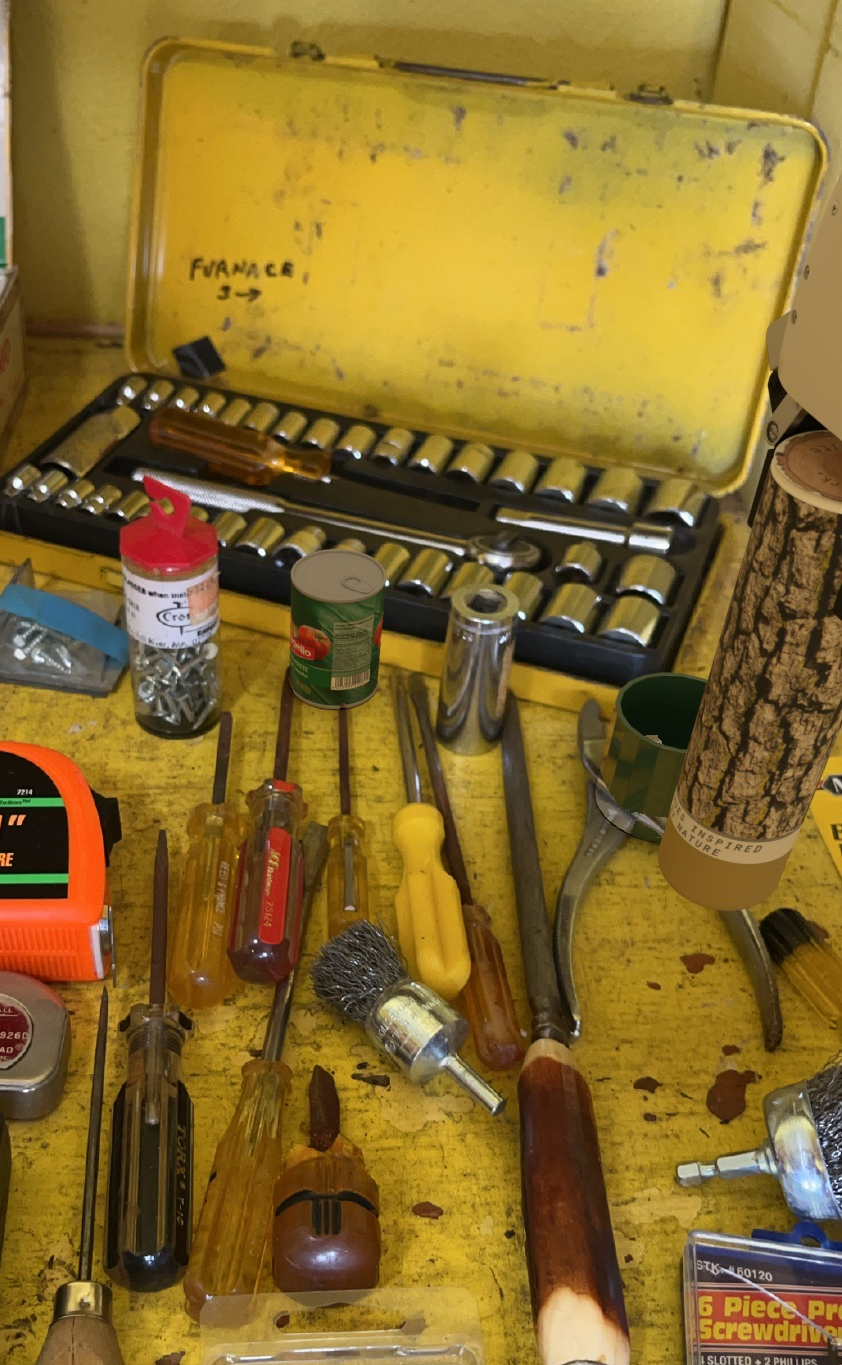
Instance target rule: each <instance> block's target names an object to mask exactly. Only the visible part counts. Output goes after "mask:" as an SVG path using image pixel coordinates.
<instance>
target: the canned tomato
mask: <svg viewBox="0 0 842 1365" xmlns="http://www.w3.org/2000/svg"><path fill="white" fill-rule="evenodd" d="M387 579H388V578H387V571H386V569H385V567H384V566H383V564H382V563H380V561H378V560H377V559H376V558H374V557H372V556H370V555H368V554H366V553H363V552H361V551H355V550H352V549H343V548H331V549H323V550H316V551H313V552H310V553H308V554H305V555H303V556H302V557H300V558H299V559H298V560H296V562H295V563H294V564H293V565H292V567H291V570H290V582H291V584H290V616H289V618H290V619H289V620H290V623H289V629H290V630H289V675H290V678H291V681H292V685H293V692H294V693H293V692H292V693H293V695H294V696H295V697H296V698H298V699H299V700H301V701H302V702H303V703H305V704H307V705H309V706H313V707H316V708H320V709H327V710H341V709H340V705H341V703H345V704H346V706H347V708H346V709H350V708H354V707H357V706H360V705H363V704H364V703H366V702H367V701H369V700H370V699H372V697H373V696H374V695H375V694H376V692H377V690H378V688H379V670H380V661H381V659H380V656H381V647H382V638H383V636H382V633H383V622H384V619H383V618H384V609H385V597H386V582H387Z"/></svg>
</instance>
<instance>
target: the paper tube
mask: <svg viewBox="0 0 842 1365" xmlns="http://www.w3.org/2000/svg"><path fill="white" fill-rule="evenodd" d="M750 529H751V528H750ZM841 583H842V441H841V440H840V439H839V438H838V437H837V436H835V435H834V434H833V433H832V432H831V431H829V430H819V431H810V432H805V433H801V434H797V435H794V436H792V437H790V438H787V439H786V440H784V441H783V442H782V443H780V444H779V445H778V447H777V448H776V450H775V453H774V457H773V459H772V461H771V464H770V467H769V471H768V474H767V478H766V481H765V485H764V488H763V491H762V495H761V498H760V502H759V505H758V509H757V512H756V515H755V519H754V522H753V526H752V529H751V530H750V532H749V536H748V540H747V543H746V546H745V550H744V553H743V557H742V560H741V564H740V566H739V571H738V574H737V577H736V580H735V585H734V587H733V592H732V595H731V598H730V602H729V605H728V608H727V611H726V616H725V619H724V622H723V627H722V629H721V633H720V637H719V640H718V643H717V646H716V649H715V653H714V657H713V660H712V663H711V666H710V670H709V674H708V678H707V679H706V680H707V684H706V687H705V691H704V694H703V698H702V701H701V704H700V708H699V711H698V715H697V718H696V722H695V725H694V728H693V732H692V735H691V739H690V742H689V746H688V749H687V753H686V756H685V759H684V763H683V766H682V770H681V773H680V777H679V780H678V783H677V787H676V790H675V794H674V797H673V801H672V804H671V809H670V813H669V816H668V819H667V823H666V826H665V830H664V833H663V837H662V840H661V843H659V847H658V852H657V863H658V867H659V870H660V872H661V874H662V876H663V878H664V879H665V881H666V883H667V884H668V885H669V886H670V887H671V888H672V890H673V891H675V893H677V894H678V895H679V896H681V897H682V898H684V899H685V900H687V901H689V902H691V903H693V904H695V905H697V906H700V907H704V908H707V909H711V910H714V911H715V910H716V911H723V912H724V911H726V912H734V911H735V912H736V911H743V910H747V909H750V908H753V907H755V906H758V905H760V904H762V903H763V902H765V901H767V900H768V899H769V898H770V897H771V896H772V895H773V894H774V892H775V891H776V889H777V887H778V885H779V883H780V880H781V878H782V875H783V873H784V870H785V868H786V866H787V863H788V860H789V858H790V856H791V854H792V851H793V848H794V846H795V844H796V842H797V839H798V837H799V835H800V832H801V829H802V826H803V824H804V822H805V819H806V816H807V814H808V811H809V810H810V806H811V804H812V801H813V800H814V797H815V794H816V792H817V789H818V787H819V784H820V782H821V779H822V776H823V774H824V771H825V769H826V767H827V764H828V761H829V759H830V756H831V754H832V751H833V749H834V746H835V744H836V741H837V739H838V737H839V734H840V732H841V729H842V621H841V620H840V619H839V618H838V617H837V616H836V615H835V614H834V613H833V608H834V607H833V606H834V603H835V600H836V597H837V595H838V592H839V589H840V586H841Z"/></svg>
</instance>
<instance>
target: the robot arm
mask: <svg viewBox="0 0 842 1365" xmlns="http://www.w3.org/2000/svg"><path fill="white" fill-rule="evenodd" d="M765 341H766V347H767V348H766V349H767V350H766V351H767V358H768V365H769V371H770V372H771V373H770V374H769V376H768V380H767V386H766V387H767V391H768V397H769V403H770V408H771V409H770V410H771V416H770V418H769V419H768V420H767V422H766V423H765V427H764V438H765V441H766V443H767V444H768V445H769V446H771V447H773V448H768V449H767V451H766V455H765V458H764V462H763V465H762V468H761V473H760V476H759V479H758V482H757V486H756V490H755V493H754V497H753V500H752V503H751V507H750V510H749V513H748V517H747V521H746V524H747V526H748V527H749V528H750V529H752V526H753V522H754V519H755V515H756V512H757V509H758V505H759V502H760V498H761V495H762V491H763V488H764V485H765V481H766V478H767V474H768V471H769V467H770V464H771V461H772V459H773V457H774V453H775V450H776V448H777V447H778V445H779V444H780V443H782V442H783V441H784V440H786V439H787V438H790V437H792V436H794V435H797V434H801V433H805V432H810V431H819V430H829V431H831V432H832V433H833V434H834V435H835V436H837V437H838V438H839V439H840V440H841V441H842V171H840V174H839V175H838V178H837V181H836V184H835V186H834V188H833V190H832V193H831V195H830V198H829V200H828V202H827V205H826V207H825V210H824V213H823V214H822V218H821V220H820V223H819V226H818V227H817V231H816V233H815V236H814V239H813V241H812V244H811V247H810V250H809V253H808V256H807V258H806V260H805V264H804V267H803V270H802V273H801V276H800V279H799V283H798V285H797V289H796V291H795V295H794V298H793V301H792V305H791V308H790V310H789V311H788V312H786V313H785V314H783V315H782V316H780V317H779V318H777V319H775V320H773V322H771V323H769V325H768V327H767V329H766V332H765ZM833 607H834V608H833V613H834V614H835V615H836V616H837V617H838V618H839V619H840V620H841V621H842V583H841V586H840V589H839V592H838V595H837V597H836V600H835V603H834V606H833Z"/></svg>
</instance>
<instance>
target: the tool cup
mask: <svg viewBox="0 0 842 1365" xmlns="http://www.w3.org/2000/svg"><path fill="white" fill-rule="evenodd" d="M707 680H708V679H706V678H704V677H699V676H696V675H691V674H687V673H681V672H680V673H679V672H655V673H649V674H644V675H641V676H638V677H636V678H634V679H631V680H629V681H628V682H626V684H625V685H624V686H622V687H621V689H619V691H618V693H617V696H616V699H615V701H614V704H613V709H612V713H611V718H610V722H609V725H608V729H607V733H606V734H607V735H606V739H605V742H604V746H603V749H602V750H603V751H602V753H601V754H602V755H601V759H600V763H601V767H602V776H603V780H604V783H605V785H606V787H607V789H608V790H609V792H610V794H611V795H612V797H613V796H614V799H615V801H616V803H618V805H620V806H621V809H622V807H623V809H624V810H625V809H626V810H627V811H628V810H629V811H628V812H629V813H630V814H631V813H634V812H638V813H639V814H640V813H641V814H644V813H645V814H650V815H653V816H657V817H666V818H668V816H669V813H670V809H671V804H672V801H673V797H674V794H675V790H676V787H677V783H678V780H679V777H680V773H681V770H682V766H683V763H684V759H685V756H686V753H687V749H688V746H689V742H690V739H691V735H692V732H693V728H694V725H695V722H696V718H697V715H698V711H699V708H700V704H701V701H702V698H703V694H704V691H705V687H706V684H707ZM646 735H658V738H659V739H660V740H661V741H662V744H663V745H662V744H660V743H657V742H655V741H653V740H651V739H649V738H647V737H644V736H646ZM630 836H632V837H634V838H638V839H640V840H642V841H643V840H644V841H647V842H653V843H658V844H660V843H661V840H662V837H661V836H660V835H658V833H657V832H656V831H654V830H653V829H652V828H649V827H648V826H644V825H643V824H642V823H640V822H639V821H635V824H634V826H633V829H632V831H631V835H630Z"/></svg>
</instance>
